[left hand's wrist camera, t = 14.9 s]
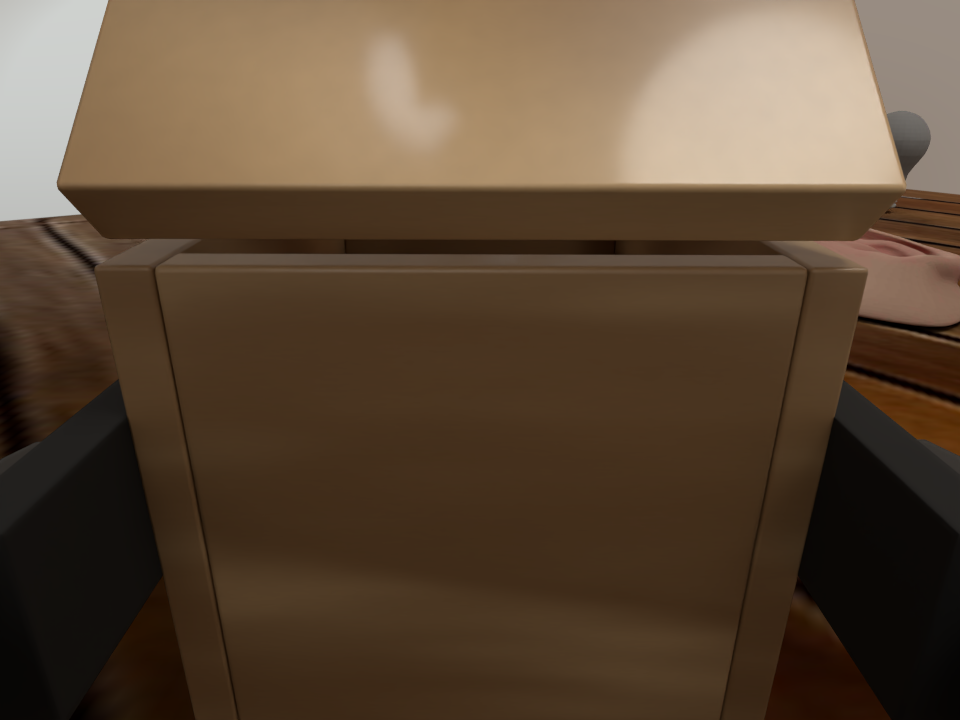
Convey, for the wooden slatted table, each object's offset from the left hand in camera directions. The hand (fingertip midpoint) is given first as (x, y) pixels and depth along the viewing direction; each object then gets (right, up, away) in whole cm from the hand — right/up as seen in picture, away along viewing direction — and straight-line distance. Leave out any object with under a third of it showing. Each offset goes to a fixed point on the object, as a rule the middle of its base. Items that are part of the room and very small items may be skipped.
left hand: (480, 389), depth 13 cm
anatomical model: (+25, +5, +31) cm, 40 cm away
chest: (0, -6, +5) cm, 8 cm away
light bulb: (+43, +17, +60) cm, 76 cm away
